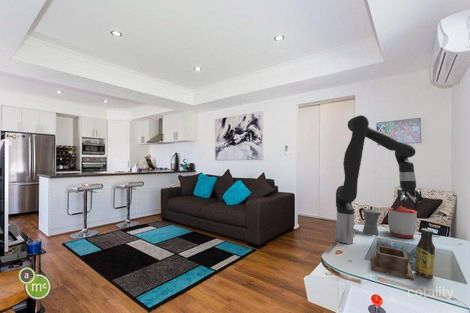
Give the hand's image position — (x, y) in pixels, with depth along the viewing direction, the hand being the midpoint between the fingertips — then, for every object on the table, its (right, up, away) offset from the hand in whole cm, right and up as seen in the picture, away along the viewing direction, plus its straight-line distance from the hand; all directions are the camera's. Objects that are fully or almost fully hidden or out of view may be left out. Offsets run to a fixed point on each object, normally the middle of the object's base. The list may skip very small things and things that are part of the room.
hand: (410, 208), depth 132 cm
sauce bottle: (-19, -22, -33) cm, 44 cm away
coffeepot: (-10, -22, +23) cm, 33 cm away
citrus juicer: (+9, -23, +20) cm, 32 cm away
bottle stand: (-29, -21, -27) cm, 45 cm away
